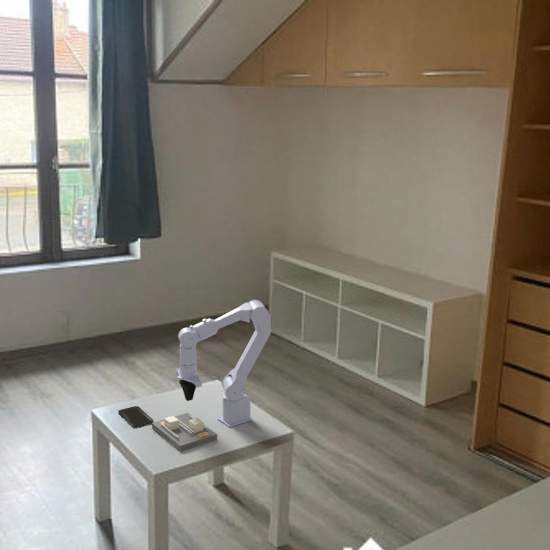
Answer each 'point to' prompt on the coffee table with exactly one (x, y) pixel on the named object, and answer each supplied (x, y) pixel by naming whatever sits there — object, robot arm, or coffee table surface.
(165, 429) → the switch board
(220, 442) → the coffee table surface
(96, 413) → the coffee table surface
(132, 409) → the phone
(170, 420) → the tab
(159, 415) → the coffee table surface
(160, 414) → the coffee table surface
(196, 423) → the tab
